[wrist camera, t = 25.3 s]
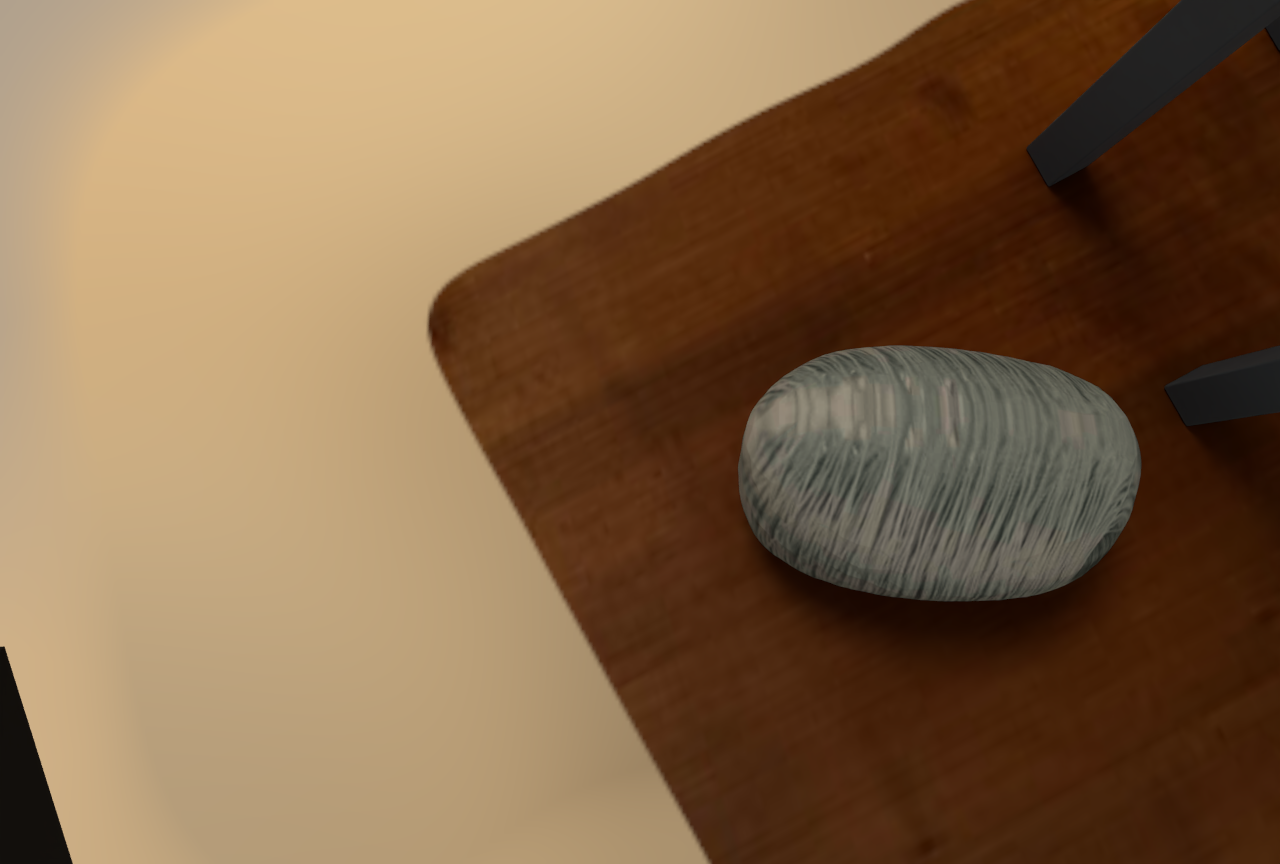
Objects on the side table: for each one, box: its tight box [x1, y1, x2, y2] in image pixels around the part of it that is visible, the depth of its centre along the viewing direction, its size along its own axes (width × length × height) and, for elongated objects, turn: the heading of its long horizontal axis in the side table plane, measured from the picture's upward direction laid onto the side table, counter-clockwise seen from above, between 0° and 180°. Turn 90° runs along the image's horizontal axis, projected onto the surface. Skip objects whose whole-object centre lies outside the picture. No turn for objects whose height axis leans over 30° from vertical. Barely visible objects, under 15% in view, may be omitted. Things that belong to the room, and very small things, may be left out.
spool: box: [738, 346, 1141, 601], centre depth 40 cm, size 14×10×10 cm
